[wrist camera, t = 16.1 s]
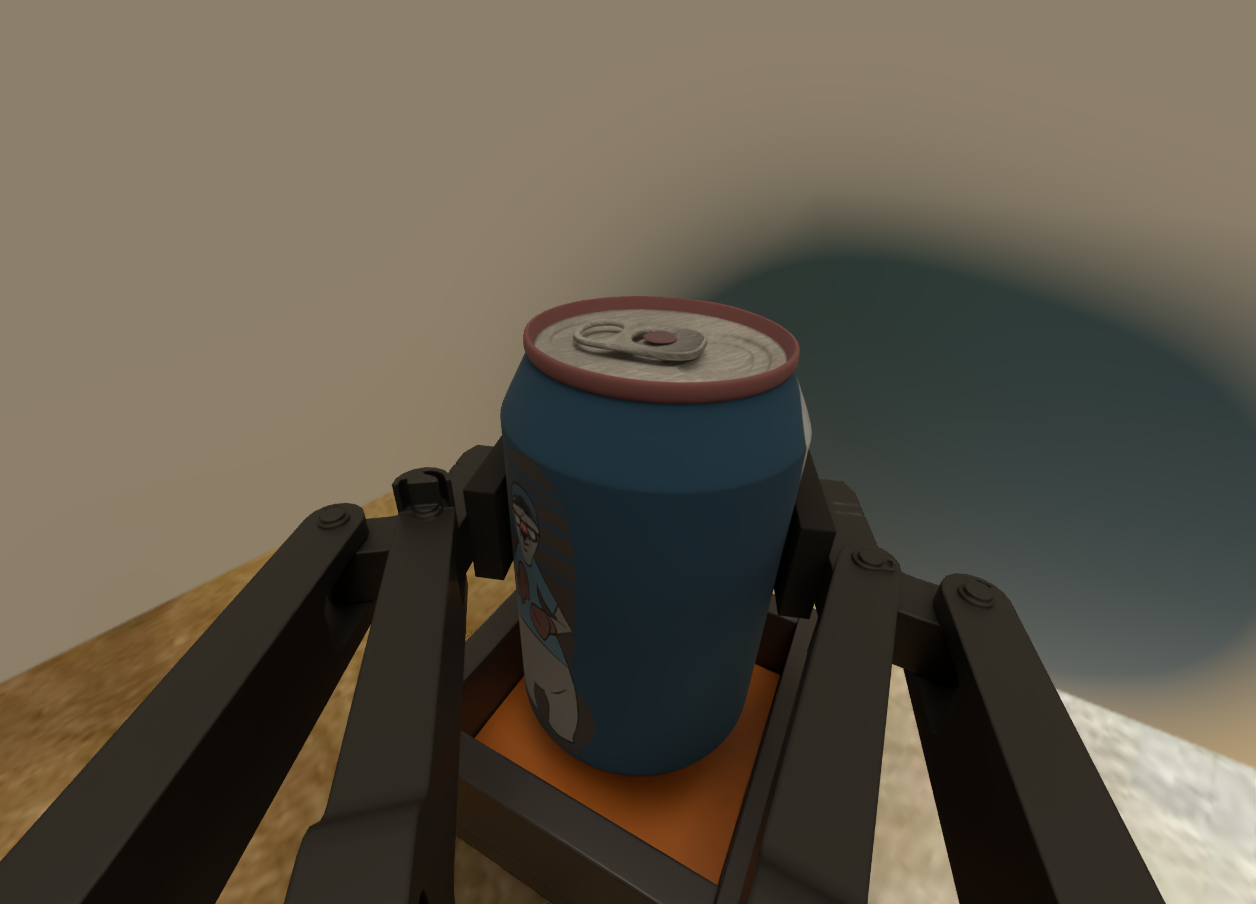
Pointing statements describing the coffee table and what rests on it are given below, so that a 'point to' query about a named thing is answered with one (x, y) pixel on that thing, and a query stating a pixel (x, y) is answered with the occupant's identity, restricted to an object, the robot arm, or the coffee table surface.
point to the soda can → (648, 519)
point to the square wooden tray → (617, 785)
